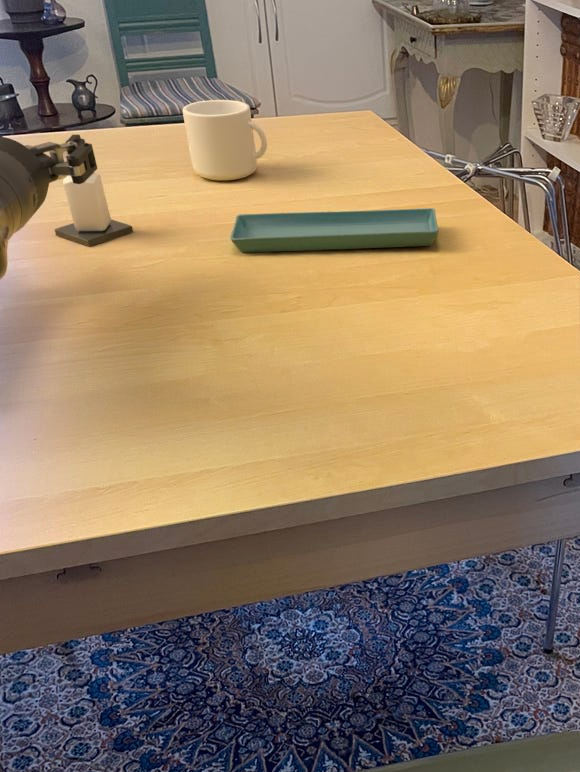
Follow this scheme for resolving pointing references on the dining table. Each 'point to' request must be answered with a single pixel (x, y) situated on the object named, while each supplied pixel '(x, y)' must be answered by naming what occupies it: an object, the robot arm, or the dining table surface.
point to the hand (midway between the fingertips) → (40, 144)
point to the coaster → (94, 233)
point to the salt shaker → (87, 203)
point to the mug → (222, 139)
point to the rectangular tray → (334, 230)
